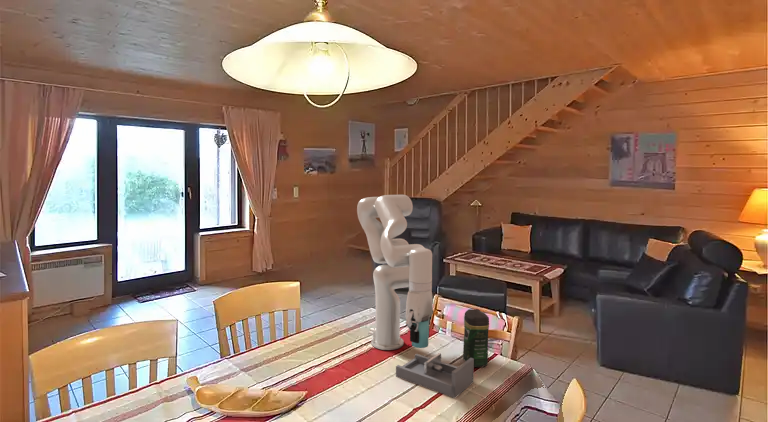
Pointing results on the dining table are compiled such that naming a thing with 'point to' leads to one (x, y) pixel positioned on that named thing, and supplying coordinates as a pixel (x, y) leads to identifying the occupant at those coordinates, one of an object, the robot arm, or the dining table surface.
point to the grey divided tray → (438, 376)
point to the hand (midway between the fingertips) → (419, 338)
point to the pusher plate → (433, 365)
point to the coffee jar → (476, 337)
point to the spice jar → (422, 333)
